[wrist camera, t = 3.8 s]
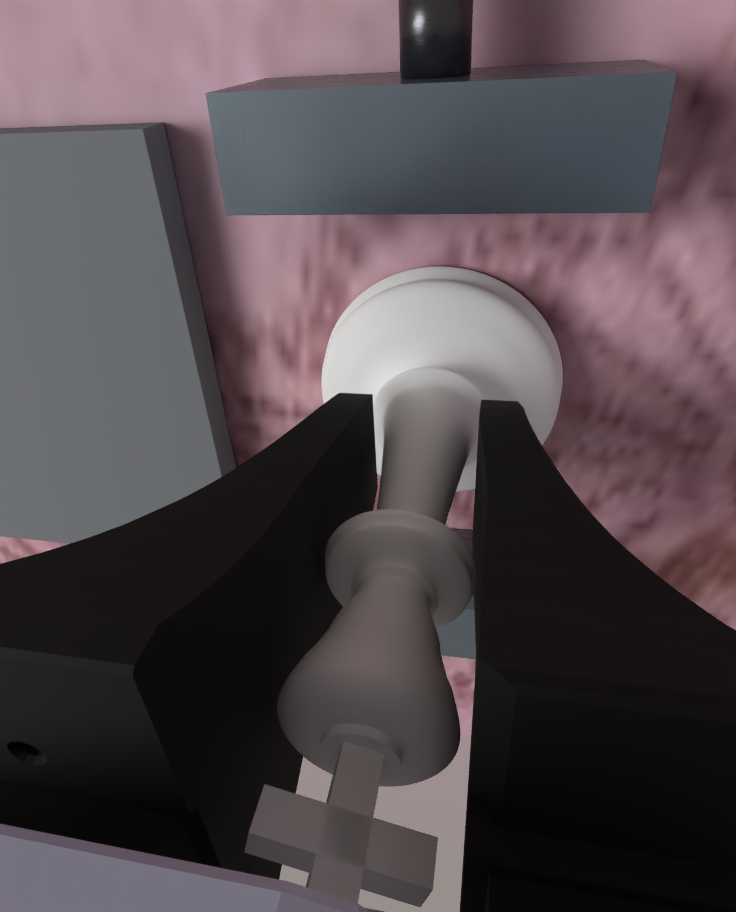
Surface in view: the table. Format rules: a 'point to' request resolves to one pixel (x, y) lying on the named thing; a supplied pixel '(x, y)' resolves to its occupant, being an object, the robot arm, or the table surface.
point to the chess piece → (400, 570)
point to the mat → (99, 335)
